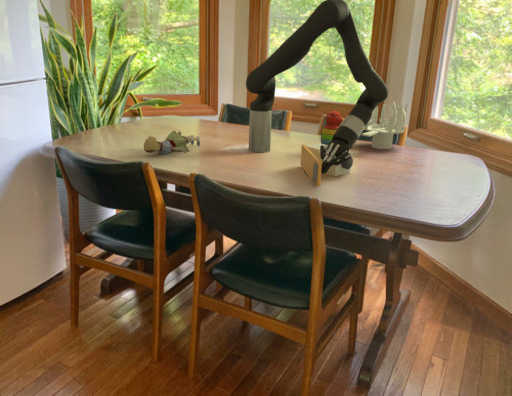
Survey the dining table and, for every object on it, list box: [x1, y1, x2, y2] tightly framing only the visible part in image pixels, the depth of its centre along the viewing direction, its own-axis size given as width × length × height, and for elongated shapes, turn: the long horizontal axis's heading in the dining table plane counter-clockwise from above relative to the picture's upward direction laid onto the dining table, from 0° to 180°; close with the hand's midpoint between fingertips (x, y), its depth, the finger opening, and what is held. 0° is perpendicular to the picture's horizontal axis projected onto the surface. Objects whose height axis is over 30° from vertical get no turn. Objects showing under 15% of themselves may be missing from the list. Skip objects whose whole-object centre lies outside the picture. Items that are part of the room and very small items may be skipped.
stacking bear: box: [320, 110, 345, 145], centre depth 197 cm, size 11×10×18 cm
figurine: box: [143, 130, 201, 155], centre depth 192 cm, size 25×8×30 cm
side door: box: [299, 144, 322, 187], centre depth 163 cm, size 26×2×8 cm, turn 7°
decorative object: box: [361, 100, 408, 150], centre depth 206 cm, size 18×29×20 cm, turn 143°
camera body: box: [305, 142, 354, 177], centre depth 171 cm, size 17×8×9 cm, turn 38°
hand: (321, 172), depth 154 cm, fingers closed
